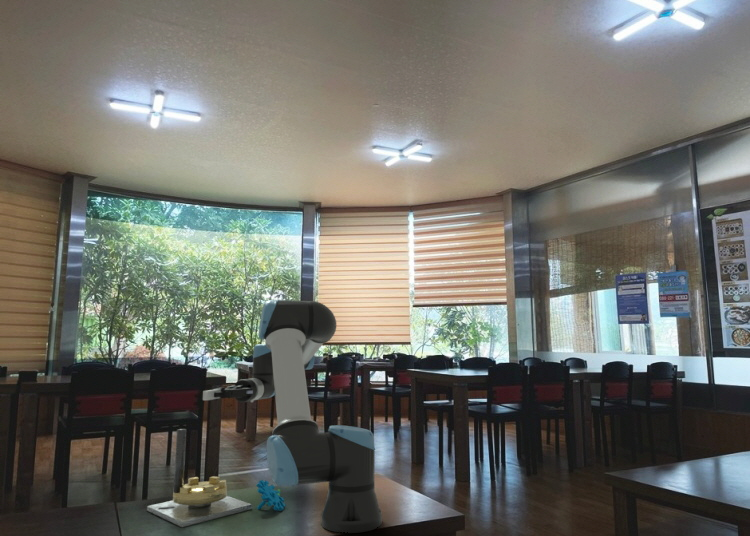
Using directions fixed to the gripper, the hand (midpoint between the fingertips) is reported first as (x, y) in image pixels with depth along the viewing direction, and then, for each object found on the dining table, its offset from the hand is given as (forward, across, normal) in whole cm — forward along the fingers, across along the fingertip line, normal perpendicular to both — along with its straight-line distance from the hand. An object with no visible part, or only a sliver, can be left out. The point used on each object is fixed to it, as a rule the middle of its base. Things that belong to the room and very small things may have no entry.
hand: (205, 395), depth 151 cm
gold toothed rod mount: (+7, -5, -27) cm, 28 cm away
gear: (0, -23, -30) cm, 38 cm away
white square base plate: (+7, -5, -30) cm, 31 cm away
